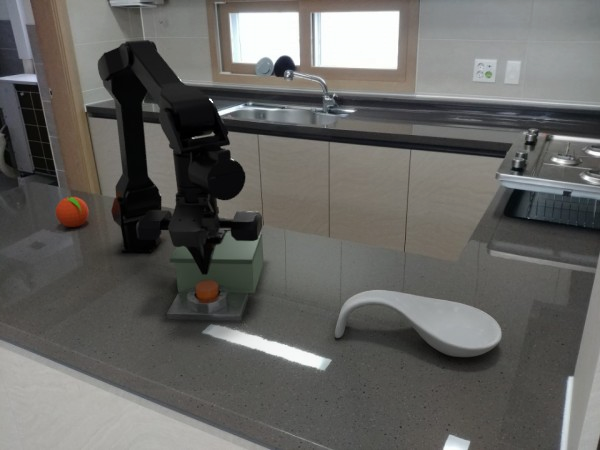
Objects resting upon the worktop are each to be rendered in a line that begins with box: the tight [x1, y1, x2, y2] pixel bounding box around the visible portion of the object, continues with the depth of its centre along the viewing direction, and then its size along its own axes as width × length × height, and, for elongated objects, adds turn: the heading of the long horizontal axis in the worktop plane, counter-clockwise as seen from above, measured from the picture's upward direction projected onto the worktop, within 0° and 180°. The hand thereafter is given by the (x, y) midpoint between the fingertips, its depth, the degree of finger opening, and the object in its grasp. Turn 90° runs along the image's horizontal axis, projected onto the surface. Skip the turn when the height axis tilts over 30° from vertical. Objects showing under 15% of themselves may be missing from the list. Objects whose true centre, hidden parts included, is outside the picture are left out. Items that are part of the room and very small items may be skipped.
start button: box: [196, 280, 219, 300], centre depth 88 cm, size 4×4×2 cm
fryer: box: [174, 236, 264, 294], centre depth 98 cm, size 14×12×6 cm
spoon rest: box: [334, 289, 503, 358], centre depth 78 cm, size 24×12×7 cm, turn 78°
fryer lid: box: [169, 231, 263, 264], centre depth 97 cm, size 14×12×1 cm
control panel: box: [166, 284, 249, 322], centre depth 89 cm, size 12×7×3 cm, turn 85°
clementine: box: [55, 196, 90, 228], centre depth 122 cm, size 8×7×7 cm
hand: (205, 273), depth 87 cm, fingers closed
